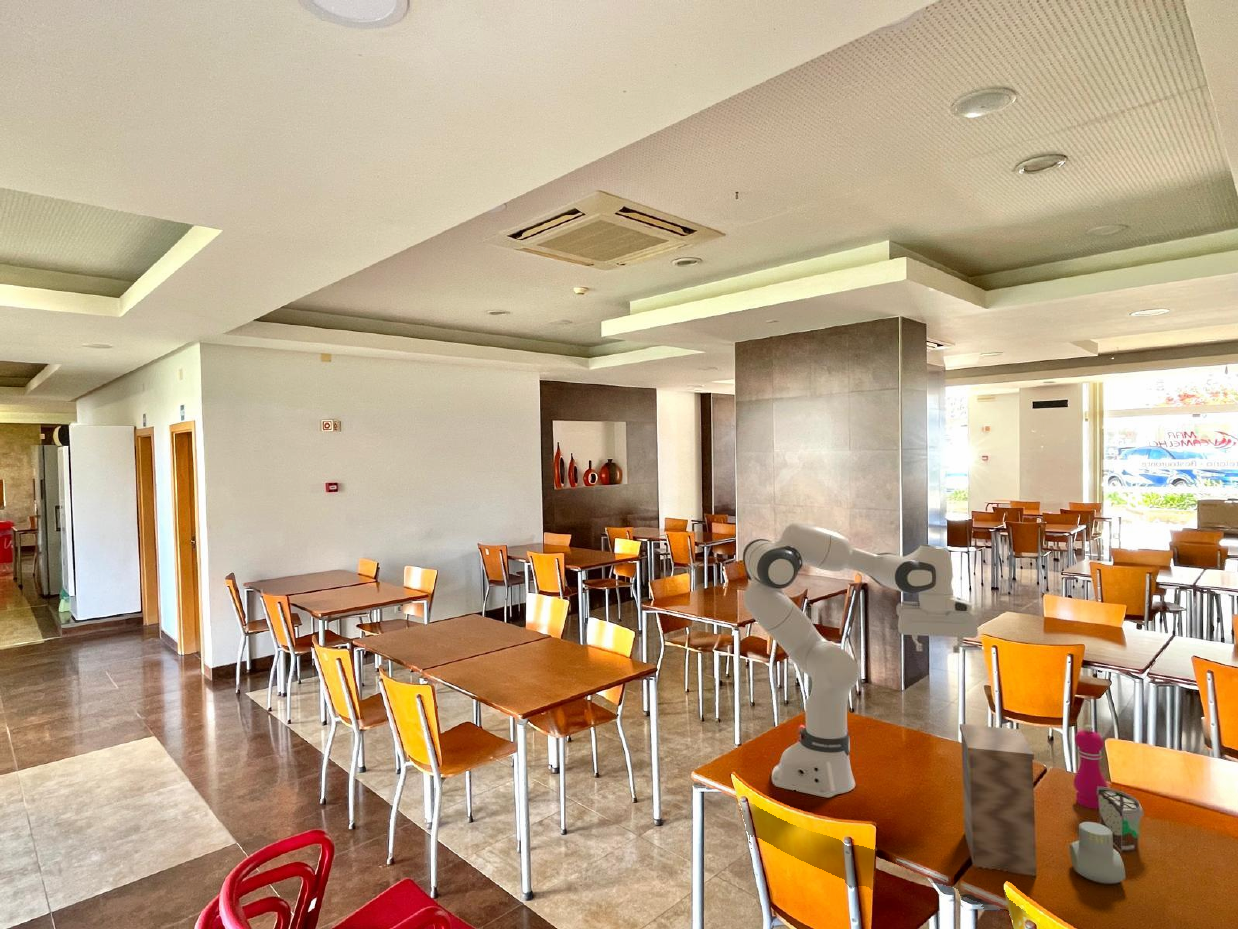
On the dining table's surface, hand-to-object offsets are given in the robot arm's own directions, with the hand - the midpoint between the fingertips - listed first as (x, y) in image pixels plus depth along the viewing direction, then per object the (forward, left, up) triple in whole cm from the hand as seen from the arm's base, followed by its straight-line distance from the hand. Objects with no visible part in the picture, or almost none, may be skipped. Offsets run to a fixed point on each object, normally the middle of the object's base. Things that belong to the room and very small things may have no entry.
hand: (937, 651), depth 191 cm
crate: (+8, -37, -35) cm, 52 cm away
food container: (+36, -24, -35) cm, 56 cm away
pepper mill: (+34, -6, -35) cm, 49 cm away
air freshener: (+26, -40, -35) cm, 59 cm away
